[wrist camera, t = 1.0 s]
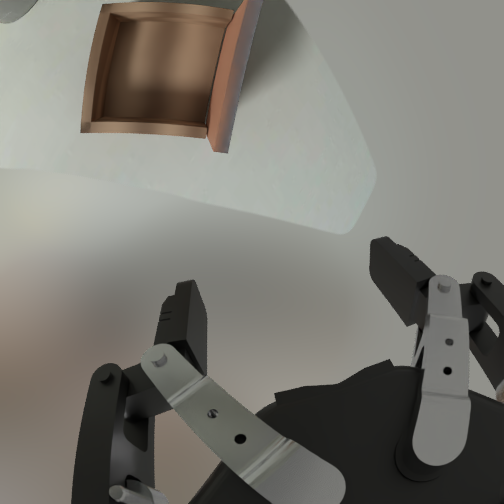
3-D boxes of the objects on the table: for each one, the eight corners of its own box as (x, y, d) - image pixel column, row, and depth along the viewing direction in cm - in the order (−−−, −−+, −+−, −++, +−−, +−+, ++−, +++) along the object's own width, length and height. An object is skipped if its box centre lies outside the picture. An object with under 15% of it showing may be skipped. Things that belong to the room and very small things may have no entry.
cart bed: (100, 122, 30) (80, 133, 23) (118, 19, 22) (102, 4, 15) (201, 128, 34) (205, 138, 27) (223, 25, 26) (233, 10, 20)
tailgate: (204, 130, 31) (213, 151, 22) (228, 22, 24) (250, -8, 14) (214, 131, 32) (227, 153, 22) (238, 23, 24) (264, -5, 14)
